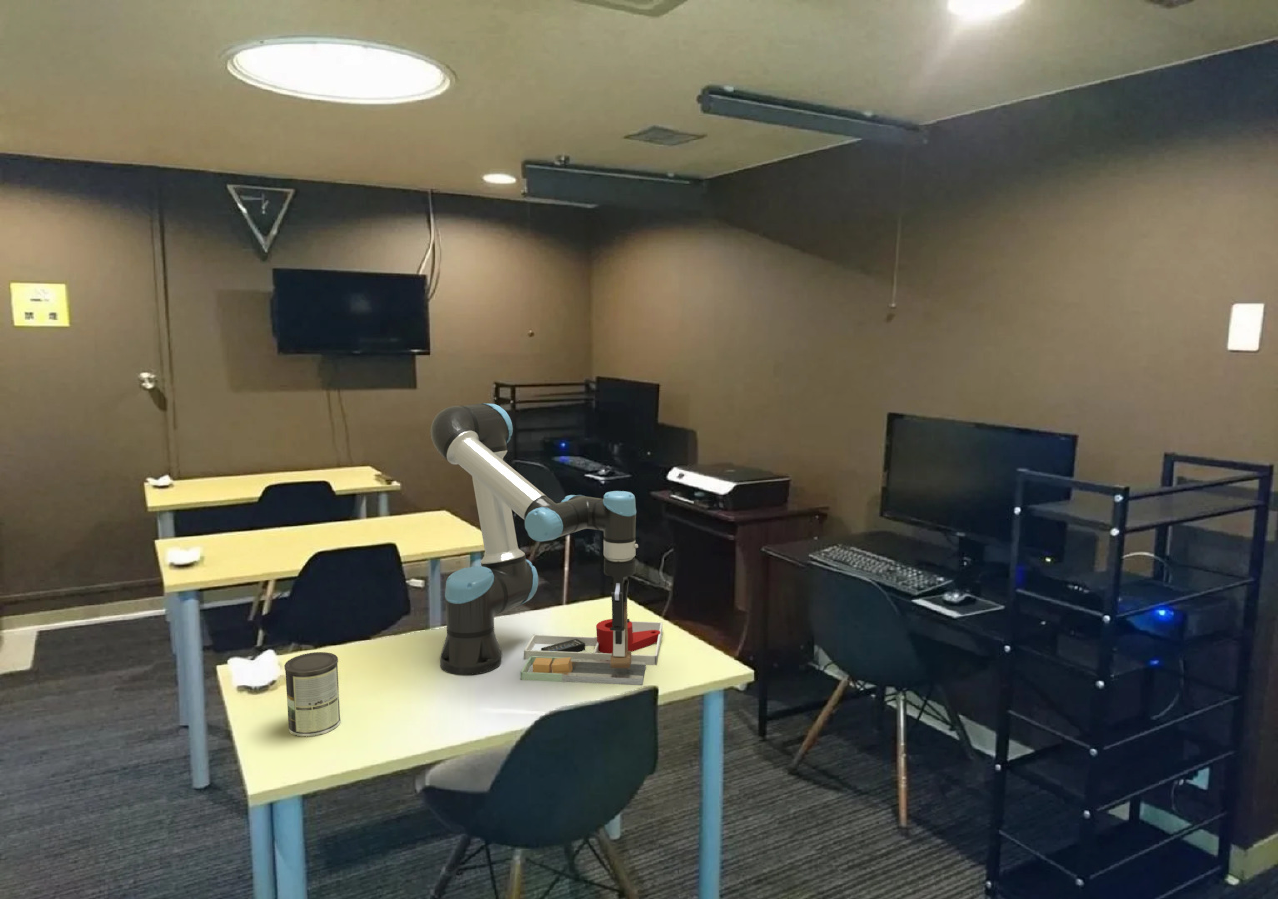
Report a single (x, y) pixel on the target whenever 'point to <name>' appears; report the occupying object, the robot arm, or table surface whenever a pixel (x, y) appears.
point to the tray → (539, 676)
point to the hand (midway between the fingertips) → (619, 652)
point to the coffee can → (312, 693)
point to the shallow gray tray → (605, 672)
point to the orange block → (562, 665)
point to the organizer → (592, 641)
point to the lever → (634, 638)
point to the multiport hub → (566, 646)
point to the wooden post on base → (620, 660)
